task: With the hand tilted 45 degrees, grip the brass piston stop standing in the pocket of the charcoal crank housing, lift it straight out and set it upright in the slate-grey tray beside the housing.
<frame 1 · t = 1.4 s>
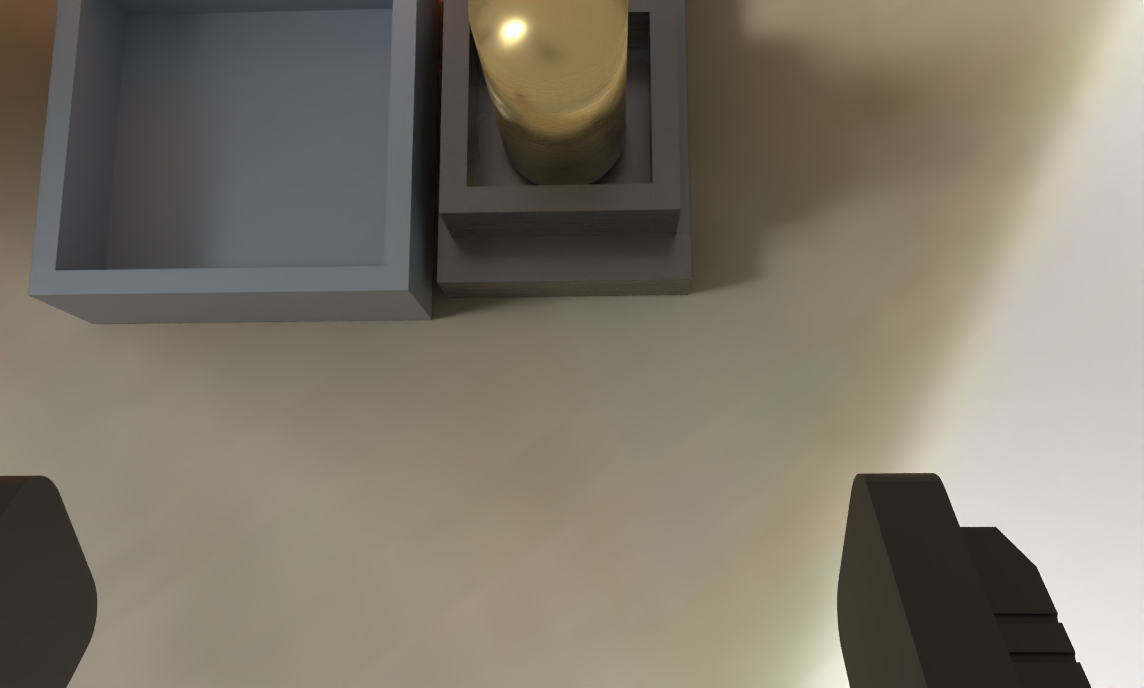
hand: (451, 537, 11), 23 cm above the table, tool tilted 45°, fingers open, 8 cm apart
piston stop: (563, 130, 35), point 2 cm above the table, touching crank housing
crank housing: (566, 99, 37), on the table
tray: (270, 159, 37), on the table
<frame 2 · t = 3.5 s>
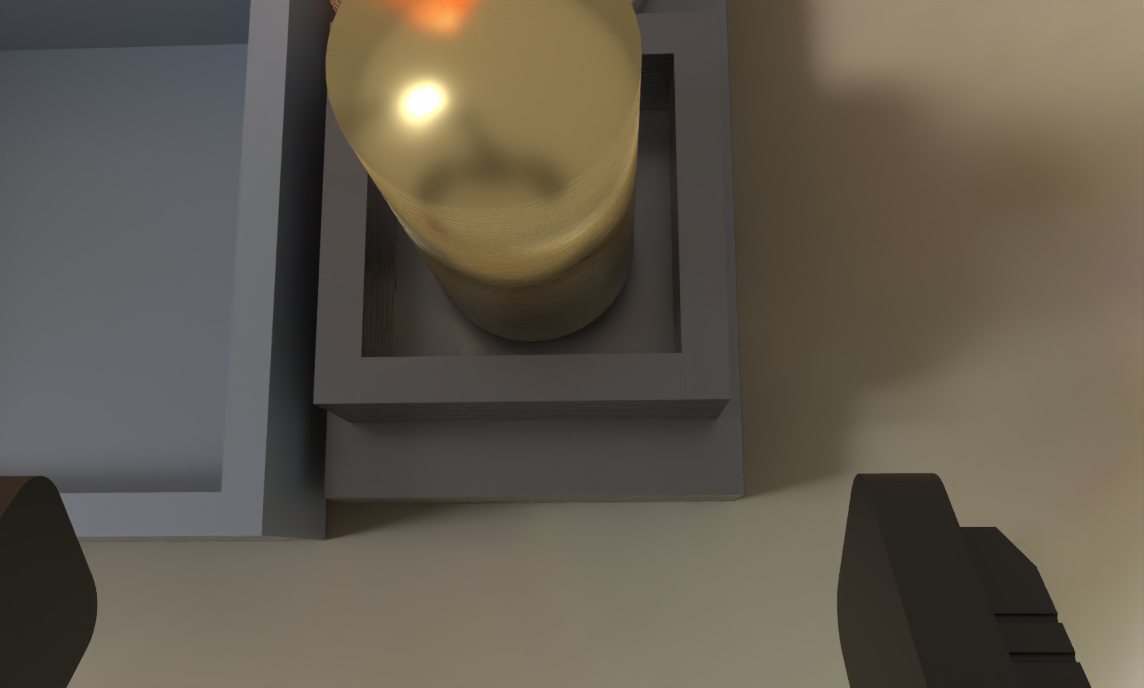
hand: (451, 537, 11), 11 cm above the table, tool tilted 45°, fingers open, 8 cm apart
piston stop: (532, 243, 21), point 2 cm above the table, touching crank housing
crank housing: (540, 182, 24), on the table
tray: (79, 278, 24), on the table
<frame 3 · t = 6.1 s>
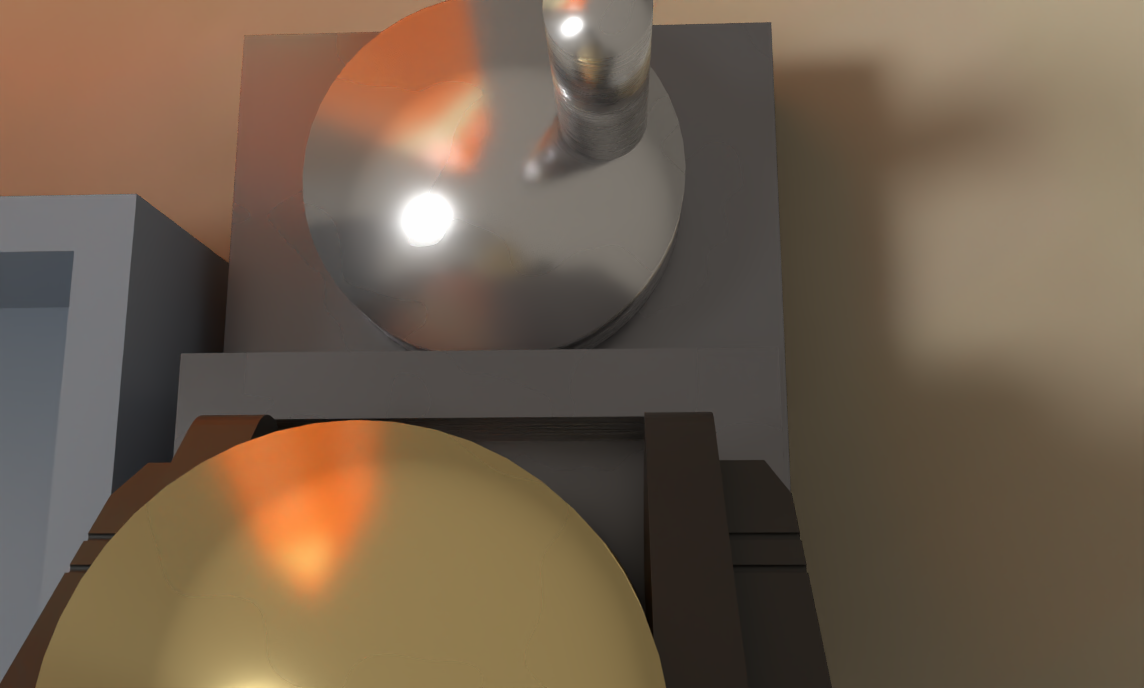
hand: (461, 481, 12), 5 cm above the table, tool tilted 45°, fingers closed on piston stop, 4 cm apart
piston stop: (496, 645, 14), point 2 cm above the table, touching crank housing, gripper
crank housing: (513, 503, 17), on the table
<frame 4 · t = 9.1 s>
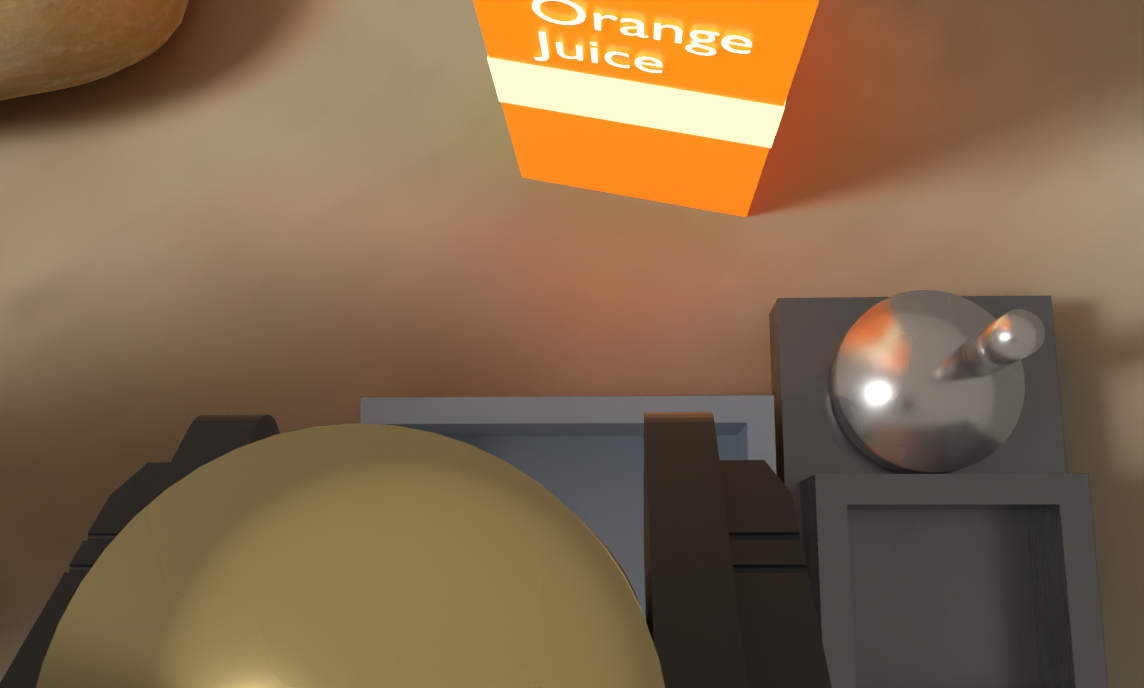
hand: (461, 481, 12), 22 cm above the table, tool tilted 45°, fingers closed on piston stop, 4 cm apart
piston stop: (496, 647, 14), point 19 cm above the table, touching gripper
orange juice: (656, 78, 36), on the table
crank housing: (910, 537, 32), on the table
bread roll: (6, 30, 38), on the table
tray: (572, 603, 32), on the table
when the fingers open (6 cm above the table, at t = 12.5 s): piston stop drops 1 cm, resting on tray.
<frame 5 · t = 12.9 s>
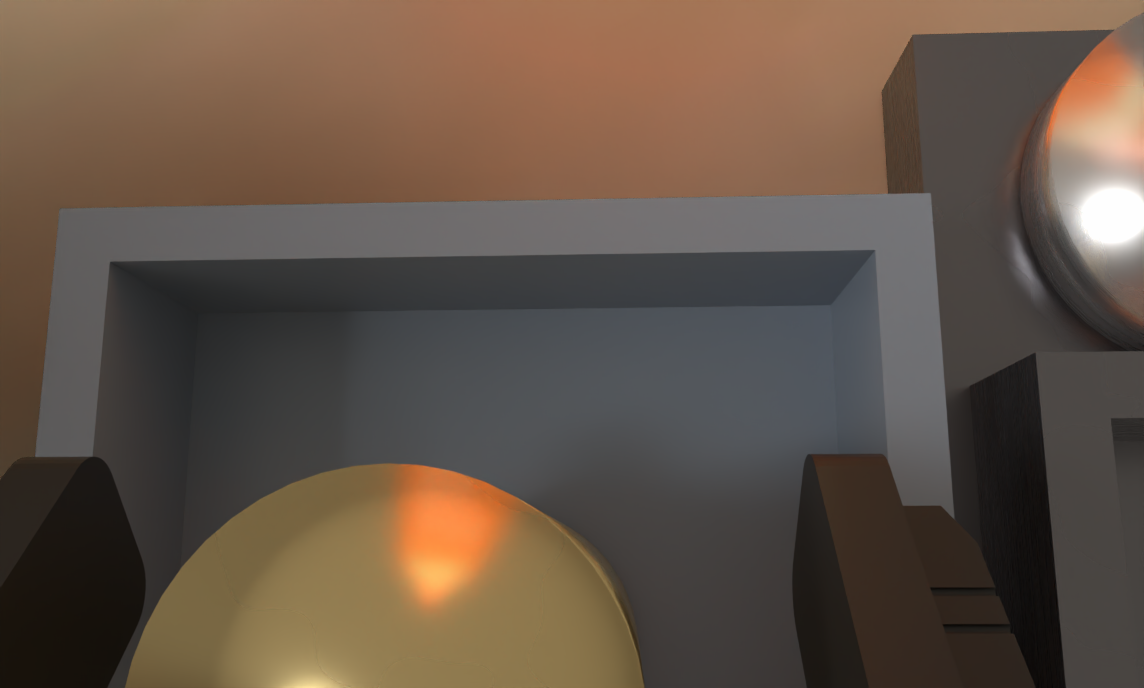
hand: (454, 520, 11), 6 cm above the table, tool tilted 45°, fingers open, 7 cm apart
piston stop: (502, 646, 16), point 1 cm above the table, touching tray
tray: (513, 633, 17), on the table
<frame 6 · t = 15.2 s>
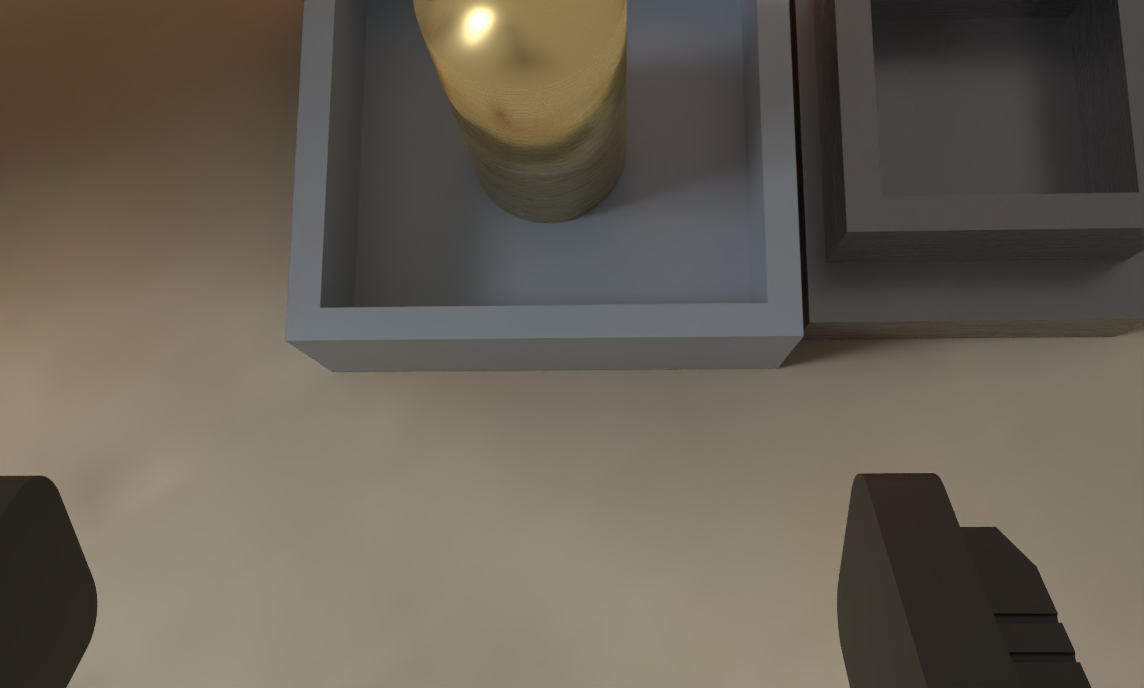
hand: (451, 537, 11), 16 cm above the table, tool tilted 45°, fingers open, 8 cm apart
piston stop: (549, 149, 28), point 1 cm above the table, touching tray
crank housing: (936, 82, 29), on the table
tray: (554, 159, 29), on the table
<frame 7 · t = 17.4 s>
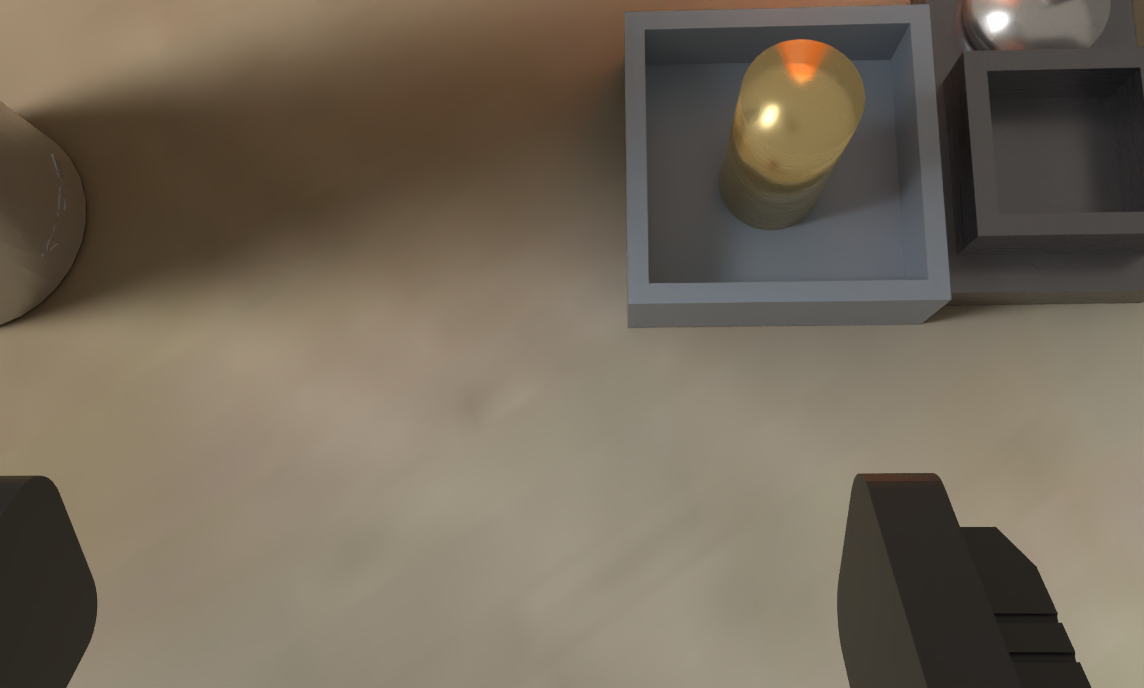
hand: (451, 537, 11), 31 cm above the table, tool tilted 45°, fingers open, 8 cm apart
piston stop: (769, 182, 42), point 1 cm above the table, touching tray
crank housing: (1020, 136, 43), on the table
tray: (767, 187, 43), on the table
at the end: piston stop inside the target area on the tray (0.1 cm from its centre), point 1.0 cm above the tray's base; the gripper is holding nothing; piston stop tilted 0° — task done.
